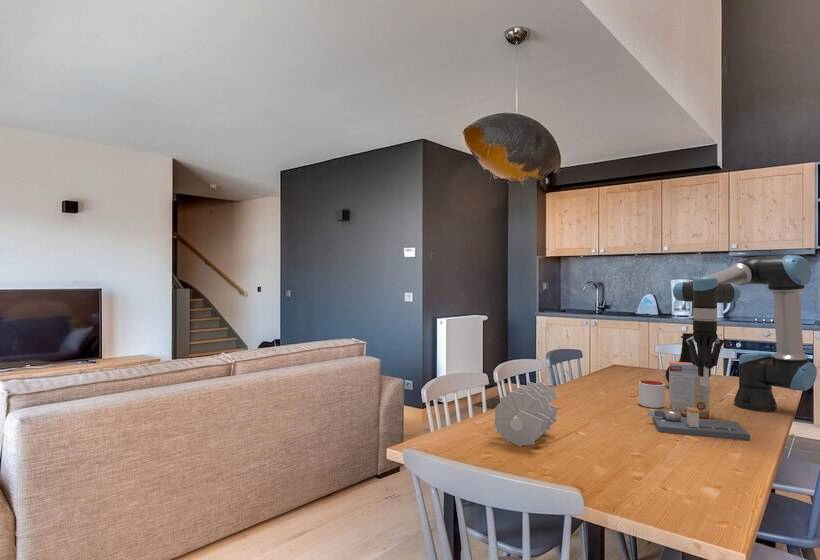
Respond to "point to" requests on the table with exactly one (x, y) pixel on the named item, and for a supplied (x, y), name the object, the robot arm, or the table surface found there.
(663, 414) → the dial
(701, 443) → the table surface
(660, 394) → the cup
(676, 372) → the cracker box
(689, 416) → the block
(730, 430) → the console
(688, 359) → the glass bottle
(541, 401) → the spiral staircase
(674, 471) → the table surface
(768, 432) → the table surface
